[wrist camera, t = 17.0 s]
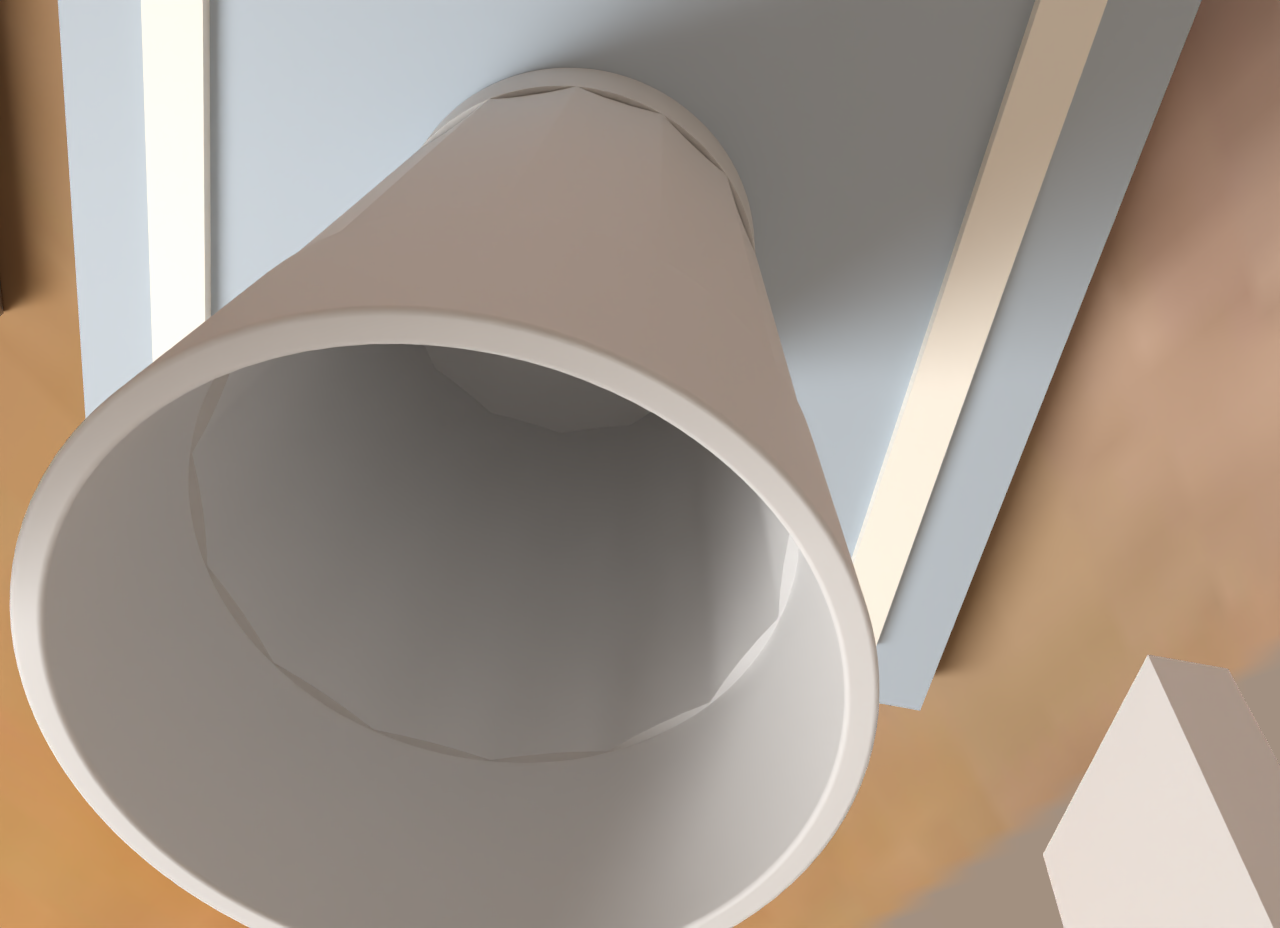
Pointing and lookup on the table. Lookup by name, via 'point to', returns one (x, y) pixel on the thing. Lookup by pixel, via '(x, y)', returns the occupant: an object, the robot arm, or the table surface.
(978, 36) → the board
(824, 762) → the cup
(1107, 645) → the table surface
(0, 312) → the ink pad
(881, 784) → the table surface
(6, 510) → the table surface
